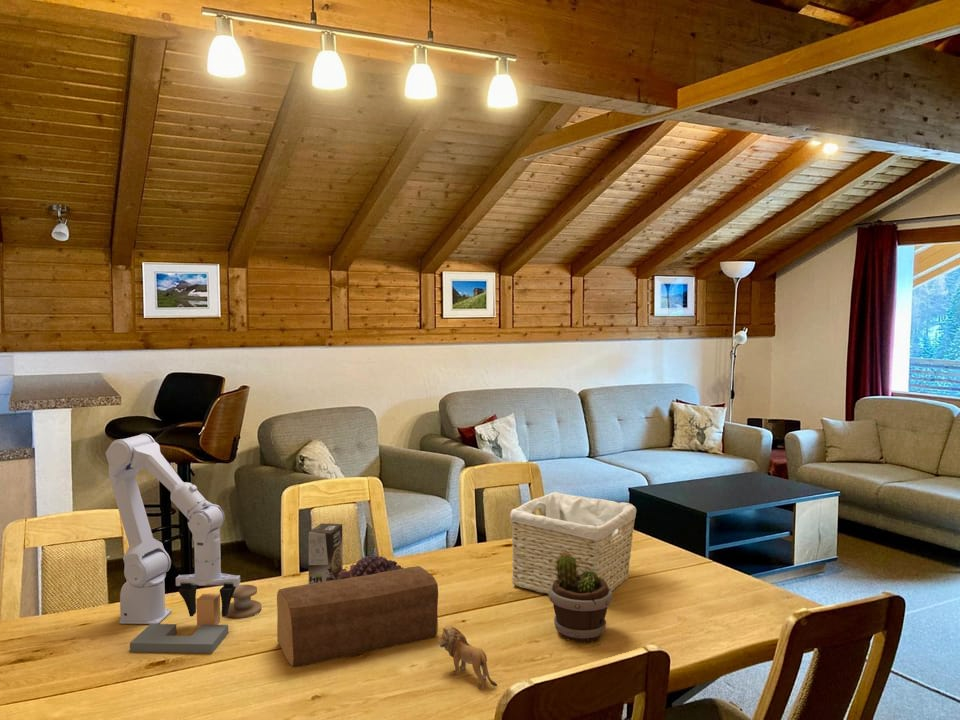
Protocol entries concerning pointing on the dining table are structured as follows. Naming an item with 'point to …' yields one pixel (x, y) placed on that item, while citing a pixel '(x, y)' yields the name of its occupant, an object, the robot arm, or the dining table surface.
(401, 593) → the bread
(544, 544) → the basket
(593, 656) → the dining table surface
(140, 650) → the notched board
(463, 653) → the lion figurine
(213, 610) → the copper block
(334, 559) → the coffee box
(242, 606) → the spool post
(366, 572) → the purple lumpy cluster
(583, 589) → the flowerpot
